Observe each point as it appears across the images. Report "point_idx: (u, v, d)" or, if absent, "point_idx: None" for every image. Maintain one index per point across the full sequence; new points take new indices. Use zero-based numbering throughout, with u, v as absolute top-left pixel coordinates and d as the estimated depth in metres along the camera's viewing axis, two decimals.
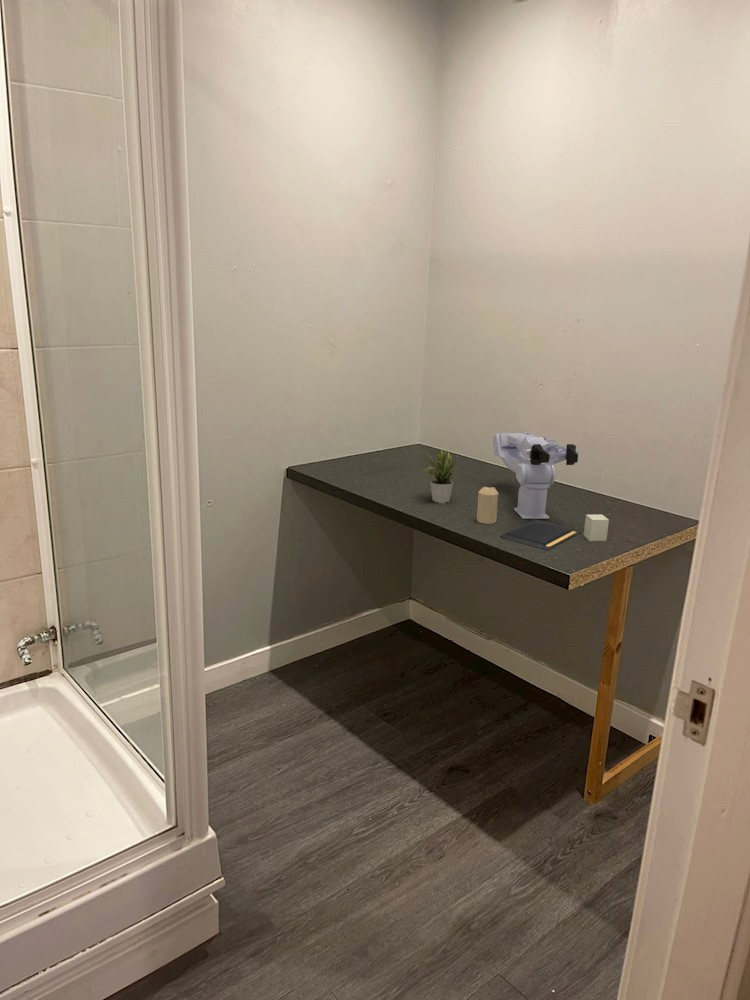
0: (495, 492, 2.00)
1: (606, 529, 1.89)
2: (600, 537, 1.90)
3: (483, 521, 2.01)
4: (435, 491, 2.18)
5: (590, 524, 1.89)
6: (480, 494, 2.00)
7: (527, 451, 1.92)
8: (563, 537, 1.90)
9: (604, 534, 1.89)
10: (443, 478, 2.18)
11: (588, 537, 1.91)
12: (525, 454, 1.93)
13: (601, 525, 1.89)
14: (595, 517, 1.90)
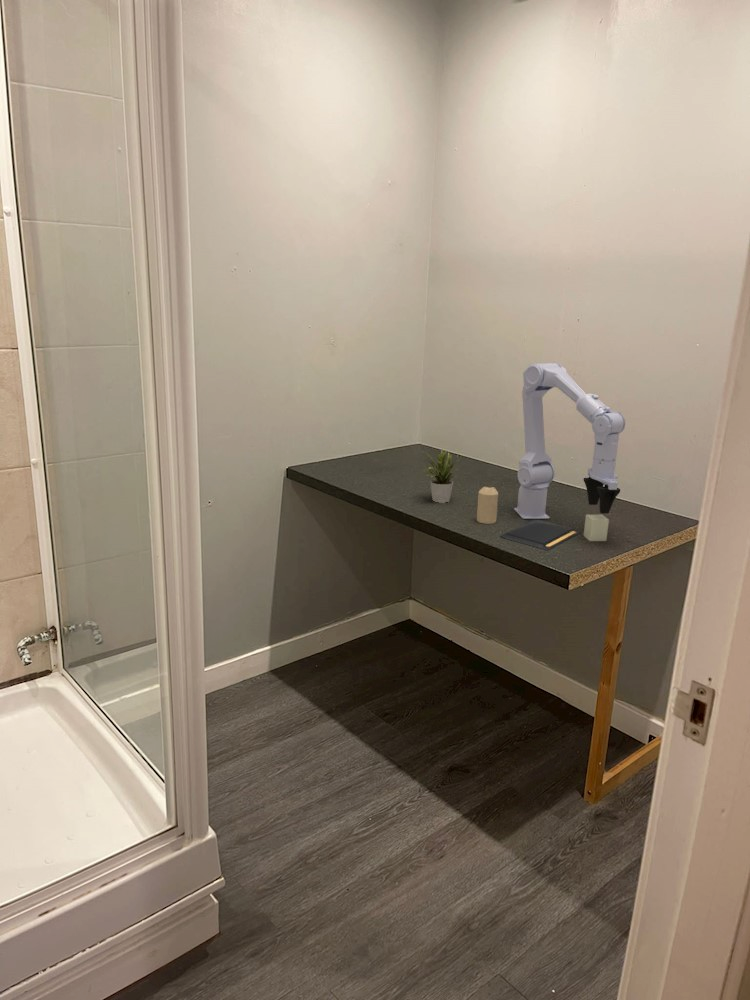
0: (495, 492, 2.00)
1: (606, 529, 1.89)
2: (600, 537, 1.90)
3: (483, 521, 2.01)
4: (435, 491, 2.18)
5: (590, 524, 1.89)
6: (480, 494, 2.00)
7: None
8: (563, 537, 1.90)
9: (604, 534, 1.89)
10: (443, 478, 2.18)
11: (588, 537, 1.91)
12: (612, 486, 1.80)
13: (601, 525, 1.89)
14: (595, 517, 1.90)
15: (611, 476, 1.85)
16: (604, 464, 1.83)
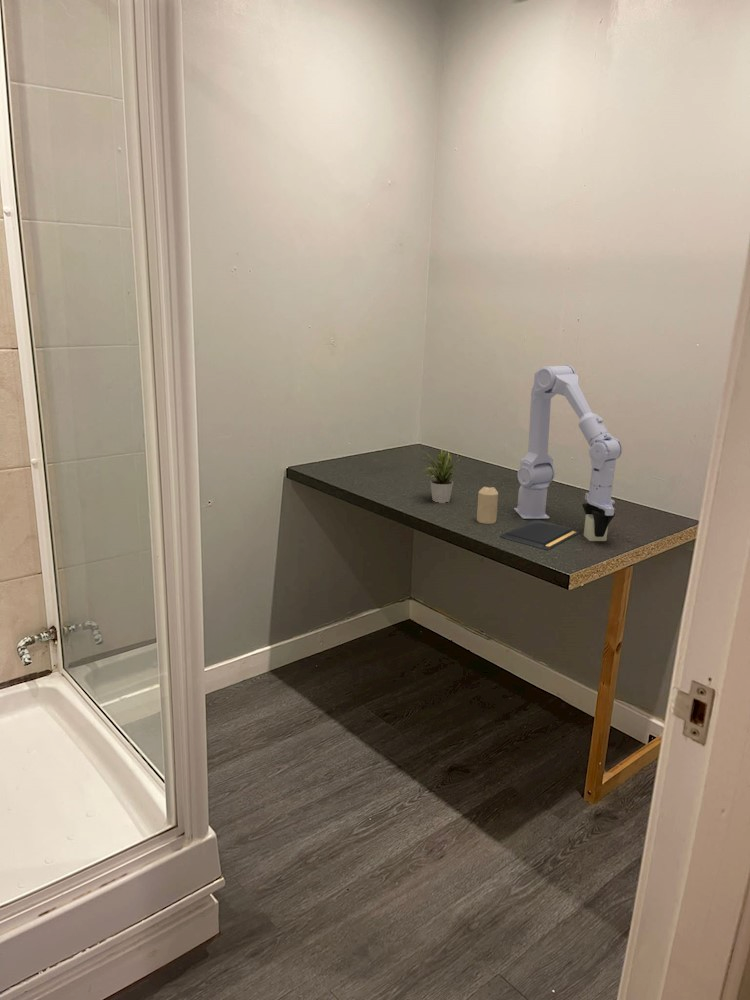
0: (495, 492, 2.00)
1: (606, 529, 1.89)
2: (600, 537, 1.90)
3: (483, 521, 2.01)
4: (435, 491, 2.18)
5: (590, 524, 1.89)
6: (480, 494, 2.00)
7: None
8: (563, 537, 1.90)
9: None
10: (443, 478, 2.18)
11: (588, 537, 1.91)
12: (609, 512, 1.82)
13: None
14: None
15: (608, 502, 1.87)
16: (601, 490, 1.85)
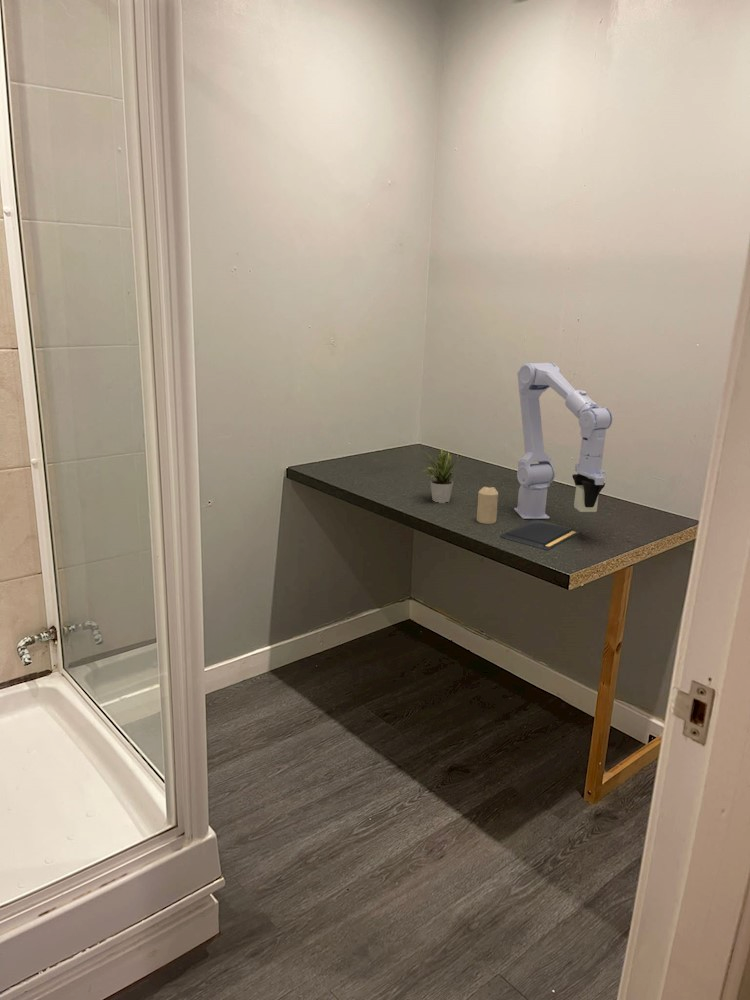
0: (495, 492, 2.00)
1: (596, 499, 1.87)
2: (591, 507, 1.88)
3: (483, 521, 2.01)
4: (435, 491, 2.18)
5: (580, 495, 1.87)
6: (480, 494, 2.00)
7: None
8: (563, 537, 1.90)
9: None
10: (443, 478, 2.18)
11: (578, 508, 1.89)
12: (599, 481, 1.80)
13: None
14: None
15: (598, 471, 1.85)
16: (591, 459, 1.83)
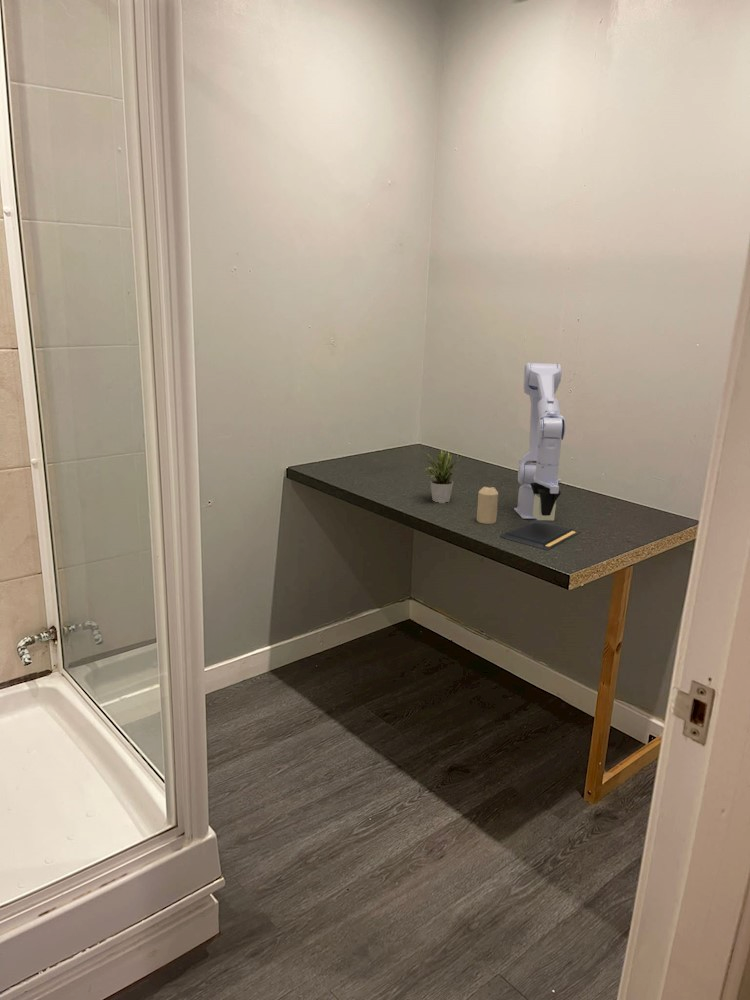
0: (495, 492, 2.00)
1: (554, 508, 1.89)
2: (548, 516, 1.90)
3: (483, 521, 2.01)
4: (435, 491, 2.18)
5: (538, 503, 1.89)
6: (480, 494, 2.00)
7: None
8: (563, 537, 1.90)
9: (552, 513, 1.89)
10: (443, 478, 2.18)
11: (536, 516, 1.91)
12: (554, 490, 1.82)
13: None
14: None
15: (554, 480, 1.87)
16: (546, 468, 1.85)
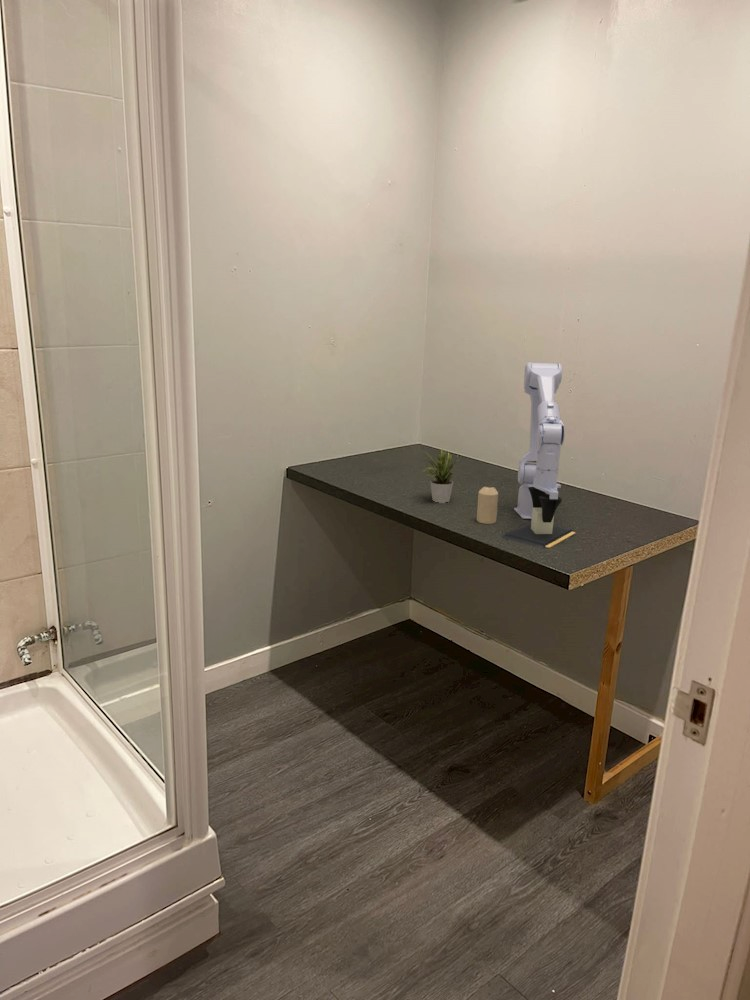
0: (495, 492, 2.00)
1: (552, 522, 1.90)
2: (546, 530, 1.91)
3: (483, 521, 2.01)
4: (435, 491, 2.18)
5: (536, 517, 1.90)
6: (480, 494, 2.00)
7: None
8: (562, 538, 1.90)
9: (550, 526, 1.91)
10: (443, 478, 2.18)
11: (534, 530, 1.92)
12: (553, 496, 1.83)
13: None
14: (541, 510, 1.91)
15: (553, 486, 1.87)
16: (546, 474, 1.86)
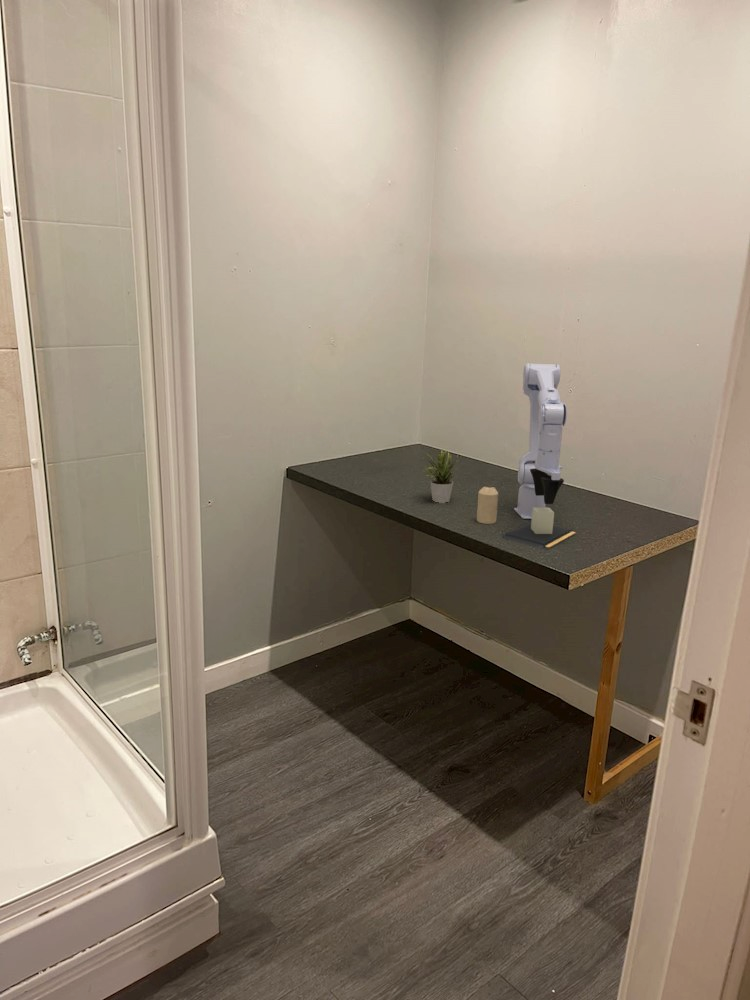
0: (495, 492, 2.00)
1: (552, 522, 1.90)
2: (546, 530, 1.91)
3: (483, 521, 2.01)
4: (435, 491, 2.18)
5: (536, 517, 1.90)
6: (480, 494, 2.00)
7: None
8: (562, 537, 1.90)
9: (550, 526, 1.91)
10: (443, 478, 2.18)
11: (534, 530, 1.92)
12: (555, 477, 1.81)
13: (546, 517, 1.90)
14: (541, 510, 1.91)
15: (555, 467, 1.86)
16: (548, 455, 1.84)
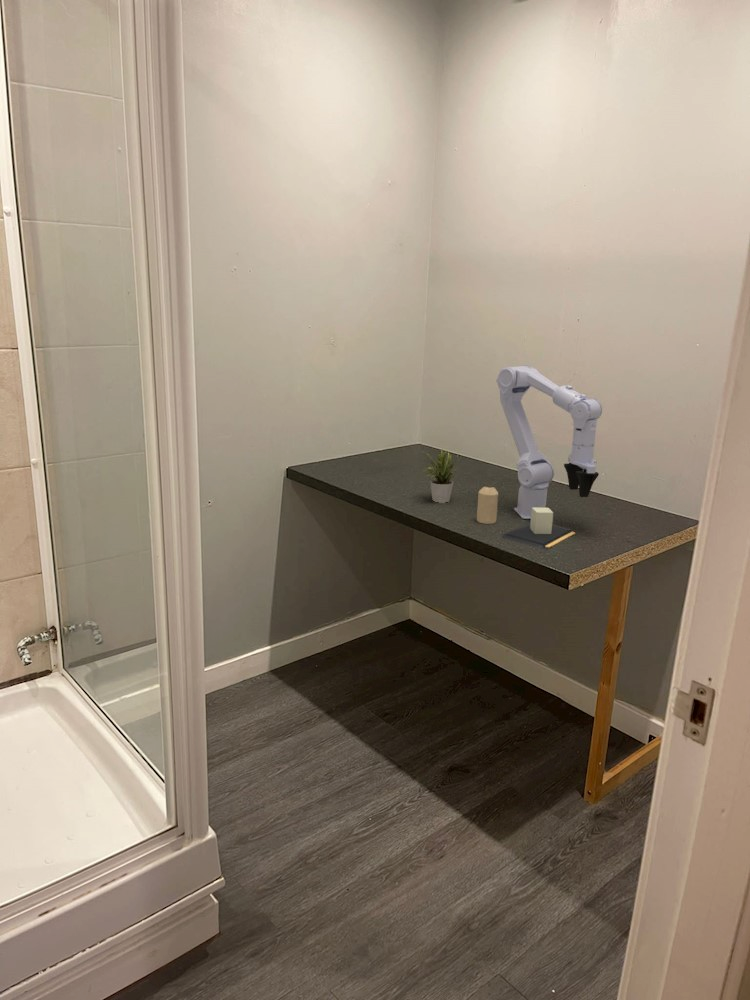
0: (495, 492, 2.00)
1: (551, 522, 1.90)
2: (545, 530, 1.91)
3: (483, 521, 2.01)
4: (435, 491, 2.18)
5: (535, 517, 1.90)
6: (480, 494, 2.00)
7: None
8: (562, 538, 1.90)
9: (549, 526, 1.91)
10: (443, 478, 2.18)
11: (533, 530, 1.92)
12: (591, 470, 1.87)
13: (545, 517, 1.90)
14: (540, 510, 1.91)
15: (590, 461, 1.91)
16: (583, 449, 1.90)
